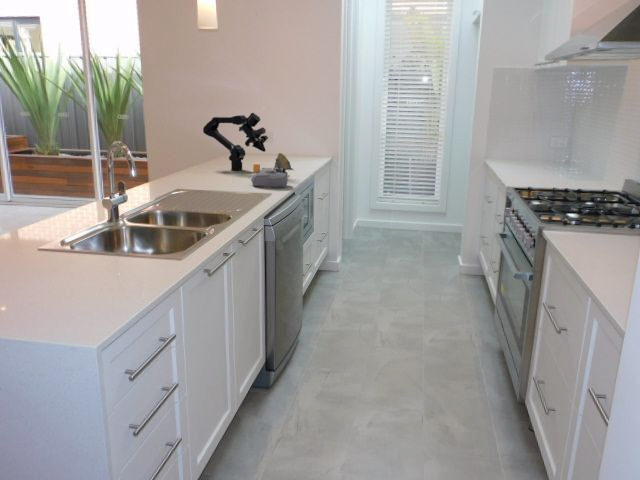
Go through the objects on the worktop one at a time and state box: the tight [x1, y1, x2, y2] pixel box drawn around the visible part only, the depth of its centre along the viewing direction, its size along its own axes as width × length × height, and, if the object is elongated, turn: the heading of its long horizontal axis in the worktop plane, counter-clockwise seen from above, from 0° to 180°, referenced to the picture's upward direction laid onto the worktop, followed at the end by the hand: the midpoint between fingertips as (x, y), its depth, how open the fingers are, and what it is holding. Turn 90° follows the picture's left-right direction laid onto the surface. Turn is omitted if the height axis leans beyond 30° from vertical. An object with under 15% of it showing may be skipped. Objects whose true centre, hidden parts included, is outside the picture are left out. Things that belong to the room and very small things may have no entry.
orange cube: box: [252, 162, 261, 173], centre depth 352 cm, size 4×4×5 cm
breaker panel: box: [259, 167, 287, 175], centre depth 347 cm, size 16×17×4 cm
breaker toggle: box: [275, 158, 283, 171], centre depth 342 cm, size 2×3×8 cm, turn 154°
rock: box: [273, 152, 292, 170], centre depth 368 cm, size 11×9×10 cm
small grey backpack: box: [250, 171, 289, 189], centre depth 306 cm, size 15×8×20 cm
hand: (264, 151), depth 345 cm, fingers closed
